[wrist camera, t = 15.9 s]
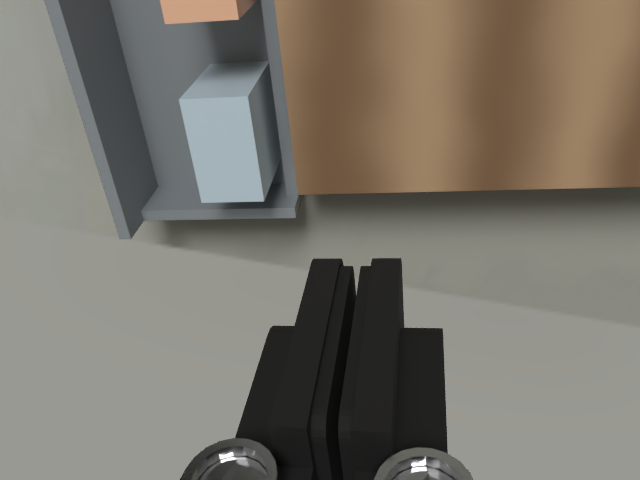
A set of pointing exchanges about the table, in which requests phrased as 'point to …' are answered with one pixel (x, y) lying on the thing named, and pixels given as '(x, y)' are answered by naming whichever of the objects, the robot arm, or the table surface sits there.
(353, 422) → the robot arm
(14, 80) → the table surface
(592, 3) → the board
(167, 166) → the box
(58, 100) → the table surface
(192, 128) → the pale blue block
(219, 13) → the block terracotta
